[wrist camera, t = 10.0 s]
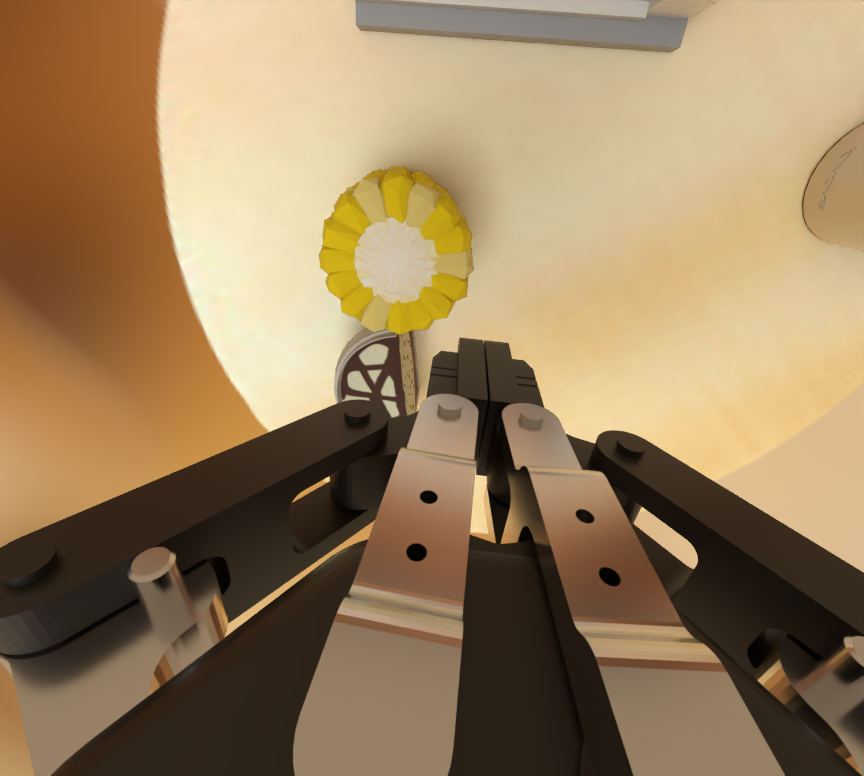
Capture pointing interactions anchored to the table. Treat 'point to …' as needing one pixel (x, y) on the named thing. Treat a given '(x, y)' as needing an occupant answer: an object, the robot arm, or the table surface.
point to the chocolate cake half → (380, 371)
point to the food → (396, 251)
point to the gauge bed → (539, 20)
